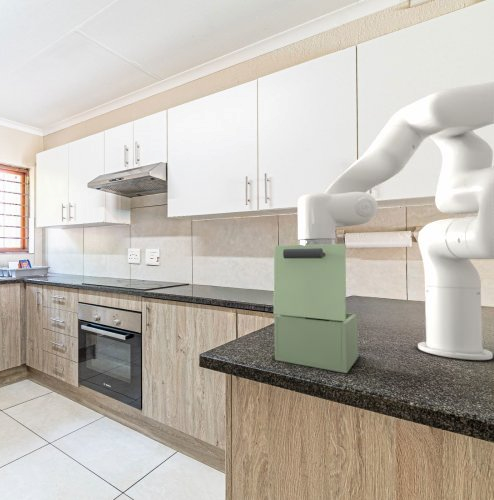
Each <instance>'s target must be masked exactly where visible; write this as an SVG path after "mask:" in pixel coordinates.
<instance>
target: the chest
mask: <svg viewBox="0 0 494 500" xmlns="http://www.w3.org/2000/svg"><path fill="white" fill-rule="evenodd" d="M273 317H274V320H273V321H274V322H273V323H274V324H273V325H274V360H275V361H279V362H283V363H289V364H294V365H300V366H305V367H310V368H317V369H320V370H327V371H331V372H337V373H343V374H347V373H348V372H349V371H350V370H351V368H353V367H352V366H353V365H354V364H355V362H357V360H358V358H359V325H358V324H359V321H358V318H359V317H358V313H350V312H346V321H337V320H329V321H322V320H312V319H305V317H297V316H287V315H277V314H275V315H274V316H273Z"/></svg>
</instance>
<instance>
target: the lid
mask: <svg viewBox="0 0 494 500" xmlns="http://www.w3.org/2000/svg"><path fill="white" fill-rule="evenodd" d="M273 251H274V252H273V315H287V316H297V317H307V318H317V319H327V320H337V321H346V313H347V287H346V286H347V278H346V277H347V273H346V272H347V269H346V268H347V266H346V265H347V264H346V263H347V262H346V260H347V259H346V255H347V254H346V244H345V243H336V244H318V245H298V244H290V245H289V244H286V245H285V244H284V245H282V244H281V245H274V246H273Z"/></svg>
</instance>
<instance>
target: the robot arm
mask: <svg viewBox="0 0 494 500" xmlns="http://www.w3.org/2000/svg"><path fill="white" fill-rule="evenodd" d="M493 124H494V81H492V82H491V81H490V82H483V83H478V84H472V85H471V84H470V85H464V86H458V87H452V88H447V89H443V90H438V91H436V92H433V93H430V94H429V95H426V96H424V97H422V98H420V99H418V100H416V101H414V102H412V103H410V104H407V105H406V106H404V107H402V108H400V109H399V110H397V111H396V112H395V113H394V114H393V115H392V116H391V118H390V119H389V120H388V121H387V123H386V124H385V125H384V127H383V128H382V129H381V131H380V132H379V134H378V135H377V136H376V138H375V139H374V140H373V142H372V143H371V144H370V146H369V147H368V148H367V149H366V151H365V152H364V153H363V154H362V155H361V157H359V158H358V159H357V160H356V161H354V162H353V163H352V164H351V165H350V166H348V168H346V169H345V170H344V171H343V172H342V173H341V174H339V176H338V177H337V178H336V179H335V180H333V182H332V183H331V184H330V185H329V186H328V187H327V189H325V191H324V192H318V193H317V192H314V193H307V194H304V195H301V196H300V197H299V198H298V200H297V245H318V244H337V243H336V241H337V240H336V238H337V237H336V228H344V227H353V226H360V225H363V224H366V223H369V222H371V221H372V219H374V218H375V217H376V215H377V213H378V212H379V211H378V210H379V204H378V202H377V199H376V198H375V197H374V196H372V195H371V194H369V193H367V192H368V191H370V190H371V189H373V188H375V187H377V186H379V185H381V184H383V183H385V182H386V181H388V180H390V179H391V178H393V177H395V176H396V175H398V174H400V173H401V171H402V170H404V168H405V167H406V165H407V164H408V163H409V161H410V160H411V158H412V157H413V155H415V153H416V151H417V150H418V149H419V147H420V146H421V145H422V144H423V142H424V141H425V140H426V139H428V138H429V139H431V141H432V142H433V143H434V144H435V145H436V146H437V147H438V149H439V151H440V152H441V156H442V163H441V169H440V172H439V177H438V181H437V187H436V191H435V197H434V203H435V207H436V208H437V210H438V211H439V212H441V213H443V214H445V215H446V214H447V215H465V214H466V215H467V214H477V215H472V216H461V217H452V218H444V219H443V218H442V219H438V220H435V221H432V222H429V223H427V224H425V225H424V226H423V227H422V228H421V230H420V231H419V233H418V236H417V245H418V249H419V252H420V256H421V259H422V265H423V273H424V307H425V308H424V309H425V313H424V314H425V341H421V342H418V344H417V349H418V350H420V351H422V352H424V353H428V354H431V355H435V356H440V357H443V358H444V357H445V358H450V359H458V360H467V361H489V360H492V359H493V358H494V353H493V352H492V351H490V350H488V349H486V348H483V326H482V325H483V322H482V321H483V320H482V284H481V283H482V281H481V275H480V274H479V272H478V270H477V268H476V266H475V265H474V264H473V262H472V260H494V165H493V158H494V151H493V148H492V147H491V145H490V144H489V143H488V142H487V141H486V140H485V139H484V138H482V137H481V136H480V135H478V134H477V133H476V132H474V131H475V130H479V129H481V128H484V127H488V126H490V125H493ZM492 165H493V166H492ZM305 319H312V320H322V321H329V320H327V319H317V318H307V317H305Z"/></svg>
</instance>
